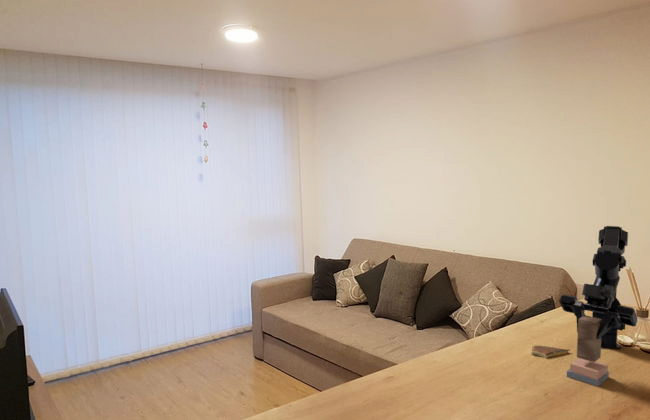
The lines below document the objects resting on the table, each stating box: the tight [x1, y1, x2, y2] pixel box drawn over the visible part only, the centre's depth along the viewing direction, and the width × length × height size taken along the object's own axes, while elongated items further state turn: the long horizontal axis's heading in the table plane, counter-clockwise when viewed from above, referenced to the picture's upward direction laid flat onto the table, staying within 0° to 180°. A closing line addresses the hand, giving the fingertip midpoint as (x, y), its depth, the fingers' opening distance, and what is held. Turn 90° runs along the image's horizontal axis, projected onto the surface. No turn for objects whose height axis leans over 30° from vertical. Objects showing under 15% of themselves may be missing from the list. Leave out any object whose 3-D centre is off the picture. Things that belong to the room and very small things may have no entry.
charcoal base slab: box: [566, 368, 610, 387], centre depth 131 cm, size 8×8×2 cm
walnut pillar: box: [576, 314, 602, 362], centre depth 130 cm, size 4×4×11 cm
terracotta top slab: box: [569, 358, 609, 380], centre depth 131 cm, size 7×7×2 cm
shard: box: [531, 344, 570, 359], centre depth 147 cm, size 11×8×2 cm
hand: (587, 335), depth 129 cm, fingers closed on walnut pillar, 4 cm apart
